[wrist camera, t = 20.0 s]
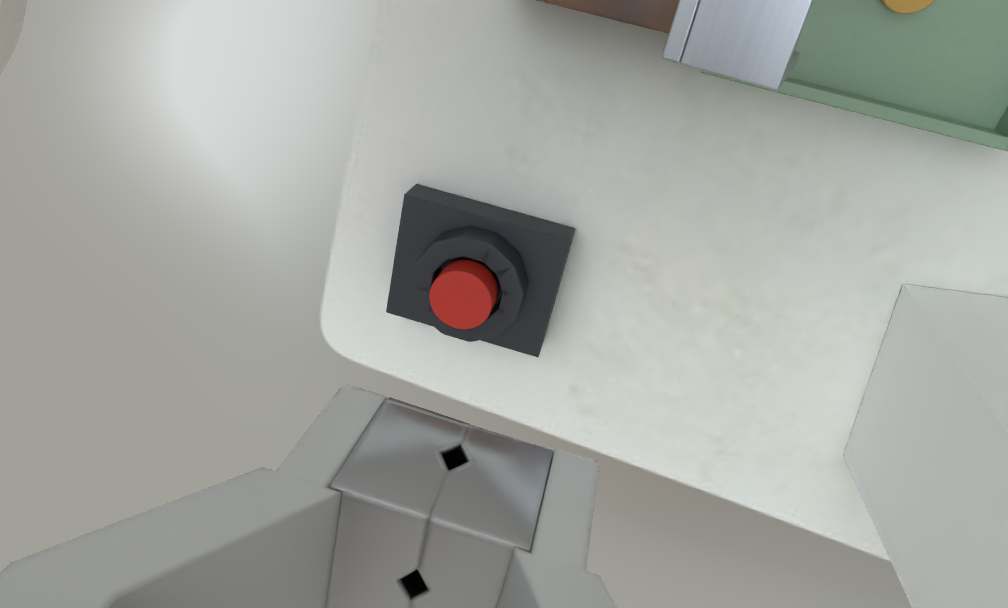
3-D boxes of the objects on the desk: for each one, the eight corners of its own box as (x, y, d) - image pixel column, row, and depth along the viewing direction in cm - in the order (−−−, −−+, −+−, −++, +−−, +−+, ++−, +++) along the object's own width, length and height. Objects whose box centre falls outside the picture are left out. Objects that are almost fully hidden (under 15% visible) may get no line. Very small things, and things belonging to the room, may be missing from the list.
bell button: (433, 306, 42) (424, 319, 40) (443, 251, 40) (434, 263, 38) (491, 323, 41) (484, 337, 40) (504, 269, 40) (497, 281, 38)
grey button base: (397, 297, 46) (375, 325, 43) (416, 183, 42) (393, 203, 39) (543, 340, 45) (533, 372, 42) (575, 228, 42) (567, 252, 38)
